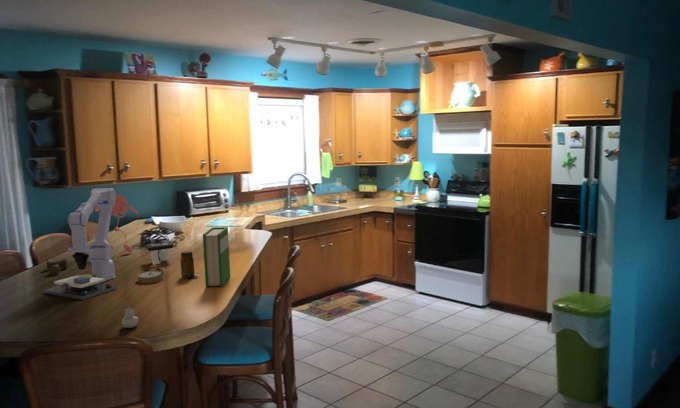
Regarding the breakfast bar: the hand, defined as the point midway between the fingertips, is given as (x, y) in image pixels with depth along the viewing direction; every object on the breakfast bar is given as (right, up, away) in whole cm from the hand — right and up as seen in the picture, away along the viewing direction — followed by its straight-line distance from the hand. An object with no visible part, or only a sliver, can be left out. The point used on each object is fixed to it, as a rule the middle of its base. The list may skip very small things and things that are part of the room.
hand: (82, 269), depth 238 cm
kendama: (-30, -6, +36) cm, 47 cm away
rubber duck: (+40, -15, -48) cm, 64 cm away
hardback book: (+59, -7, +8) cm, 60 cm away
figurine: (-13, 0, +75) cm, 76 cm away
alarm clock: (+25, -7, +15) cm, 31 cm away
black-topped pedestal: (+19, -3, +49) cm, 53 cm away
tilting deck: (0, -5, -3) cm, 6 cm away
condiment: (+43, -6, +18) cm, 47 cm away
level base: (0, -9, -2) cm, 10 cm away
